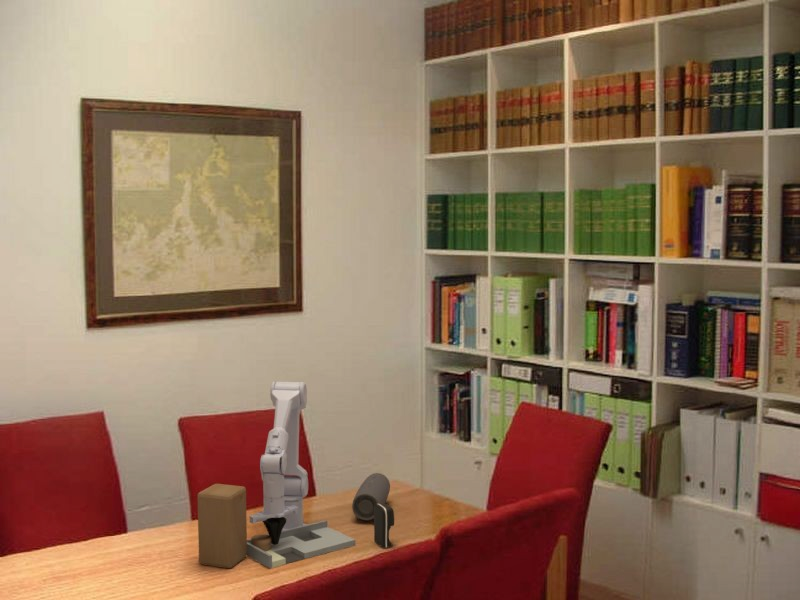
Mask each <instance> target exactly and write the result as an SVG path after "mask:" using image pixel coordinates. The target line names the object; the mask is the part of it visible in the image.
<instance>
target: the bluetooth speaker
mask: <svg viewBox="0 0 800 600" xmlns="http://www.w3.org/2000/svg"><path fill="white" fill-rule="evenodd" d="M390 489H391V484H390V479H389V478H388V477H387V476H386V475H384V474H383V473H380V472H376V473H372V474H369V475H368V476H367V477H366V478H365V479H364V481H363V482H362V484H361V485H360V486H359V487H358V490H357V491H356V493H355V494H354V495H355V496H354V498H353V499H352V506H351V508H352V513H353V514H354V516H355V517H356V518H358V519H360V520H362V521H370V520H374V506H375V505H376V504H382V503H385V504H387V503H386V502H387V500H388V498H389V493H390Z"/></svg>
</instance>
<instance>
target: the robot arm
mask: <svg viewBox="0 0 800 600" xmlns="http://www.w3.org/2000/svg"><path fill="white" fill-rule="evenodd" d="M307 390H308V388H307V384H306V383H305V381H301V382H300V381H276V380H274V381H273V382H272V383H271V386H270V390H269V392H270V400H271V401H272V406H274V407H275V410H274V419H273V428H272V429H271V430H269V432H268V434H267V440H266V445H265V451H264V454H261V457H260V460H259V461H260V462H259V464H260V465H259V469H260V474H261V475H260V476H261V481H262V485H263V487H262V488H263V489H262V490H263V491H262V492H263V510H262V511H259V512H257V513H254V514H250V515H249V523H250V524H252V525H256V524H257V523H261V522H262V523H263V525H264V527H265V528H266V531H267V534H269V536H271V543H272V544H274V545H276V544H278V543H279V538H280V535H281V532H282V531H284V530H288V529H292V528H296V527H300V526H304V525H308V523H304V498H305V497H307V495H308V492H309V479H308V472H307V470H306V468H305V469H304V467H302V466H301V465H300V464H299V458H300V457H299V456H300V455H299V453H300V452H299V449H300V448H299V447H300V445H299V444H300V415H301V411H302V410H305V409H306V408H307V403H308V401H307V400H308V398H307V396H308V395H307V394H308V393H307V392H308V391H307Z"/></svg>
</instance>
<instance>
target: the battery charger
mask: <svg viewBox="0 0 800 600" xmlns="http://www.w3.org/2000/svg"><path fill="white" fill-rule="evenodd" d="M394 525H395V511H394V508H393V507H392V506H390V505H389V504H387V503H382V504H376V505H375V506H374V518H373V529H374V533H373V534H374V535H373V536H374V537H373V540H374V542H375V543H376V544H377V545H379V546H380V547H381V548H383V549H386V548H390V547H392V546H393V543H392V542H391V541H390V529H391V527H393V526H394Z"/></svg>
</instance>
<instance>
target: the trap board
mask: <svg viewBox="0 0 800 600" xmlns="http://www.w3.org/2000/svg"><path fill="white" fill-rule="evenodd" d="M266 535H269V534H268V533H267V534H266ZM354 546H356V539H355V538H352V537H350V536H348V535H345V534H344V533H342V532H340V531H337V530H336V529H334V528H331V527H329V526H328V520H321V521H318V522H313V523H309V524H308V523H307V525H304V526H300V527H296V528H292V529H288V530H284V531H282V532H281V535H280V538H279V543H278V544H276V545H274V544H272V543H271V550H269V551H266V552H265V551H263V550H261V549H259V548H258V547H256V546H254V545H252V544H251V538H248V539H247V556H246V557H248V558H250V559H252V560H254V561H256V562H258V563H259V564H261V565H263V566H264V565H265V566H264V567H267V568H268V569H273V568H276V567H281V566H285V565H287V564H291V563H295V562H299V561H303V560H306V559H310V558H313V557H317V556H320V555H324V554H328V553H332V552H335V551H339V549H340V550H343V549H346V548H347V549H348V548H351V547H354Z"/></svg>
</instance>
